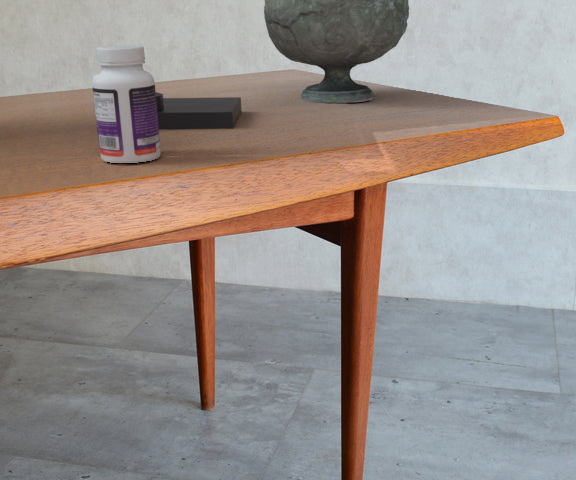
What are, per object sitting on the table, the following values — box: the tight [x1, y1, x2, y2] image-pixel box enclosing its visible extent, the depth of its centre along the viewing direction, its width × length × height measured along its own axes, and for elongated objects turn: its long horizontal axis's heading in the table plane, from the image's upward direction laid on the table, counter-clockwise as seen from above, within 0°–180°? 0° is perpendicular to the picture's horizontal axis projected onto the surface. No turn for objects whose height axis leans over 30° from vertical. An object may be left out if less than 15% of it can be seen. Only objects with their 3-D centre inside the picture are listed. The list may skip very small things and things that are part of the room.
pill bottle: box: [91, 45, 162, 164], centre depth 65 cm, size 5×5×10 cm
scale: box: [155, 91, 242, 130], centre depth 85 cm, size 14×12×4 cm
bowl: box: [263, 0, 410, 104], centre depth 100 cm, size 20×19×15 cm
